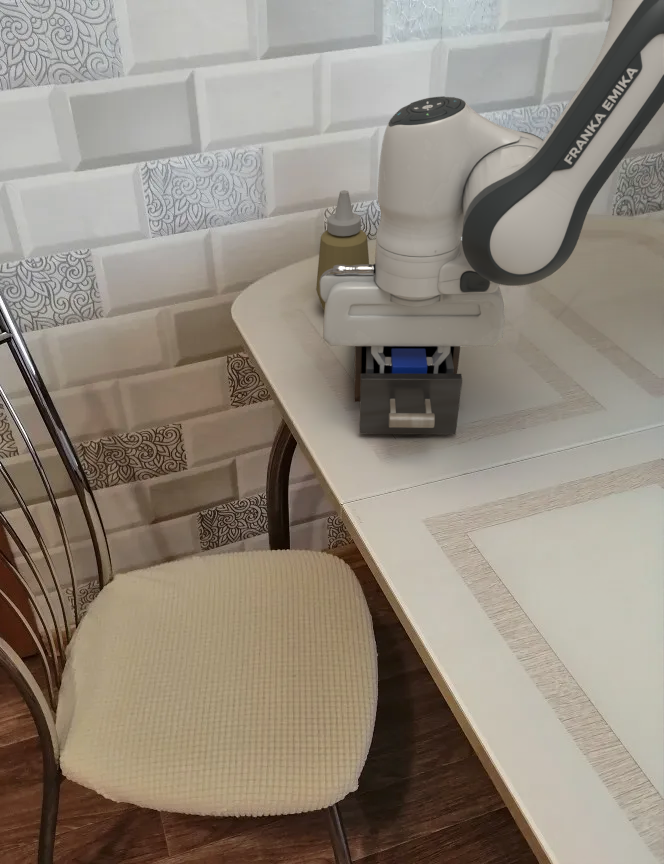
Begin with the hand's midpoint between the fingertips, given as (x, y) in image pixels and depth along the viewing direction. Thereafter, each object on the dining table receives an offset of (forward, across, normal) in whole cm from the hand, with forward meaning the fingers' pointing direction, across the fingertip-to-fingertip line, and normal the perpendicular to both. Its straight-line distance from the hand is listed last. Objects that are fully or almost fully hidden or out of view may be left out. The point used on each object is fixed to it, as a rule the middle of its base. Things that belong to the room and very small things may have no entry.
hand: (408, 373), depth 94 cm
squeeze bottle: (+7, -8, +27) cm, 29 cm away
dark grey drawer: (+6, 0, 0) cm, 6 cm away
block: (+2, 0, 0) cm, 2 cm away
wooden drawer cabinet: (+7, 0, +11) cm, 13 cm away
